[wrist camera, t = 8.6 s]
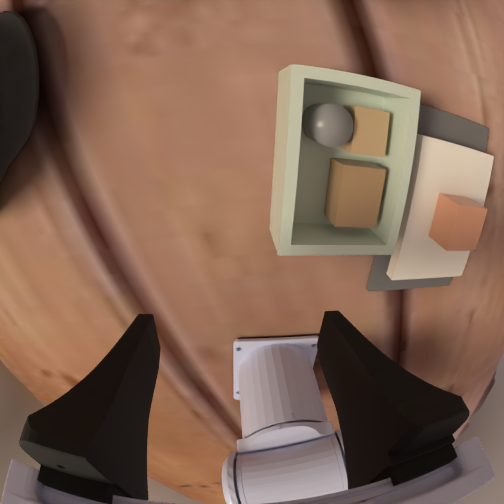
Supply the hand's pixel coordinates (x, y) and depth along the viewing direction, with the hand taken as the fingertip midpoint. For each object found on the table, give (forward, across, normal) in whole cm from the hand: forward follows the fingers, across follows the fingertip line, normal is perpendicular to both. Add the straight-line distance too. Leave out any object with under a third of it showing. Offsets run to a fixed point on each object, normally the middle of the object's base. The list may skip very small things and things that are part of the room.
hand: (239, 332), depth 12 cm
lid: (+10, -17, -2) cm, 19 cm away
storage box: (+10, -7, -6) cm, 14 cm away
